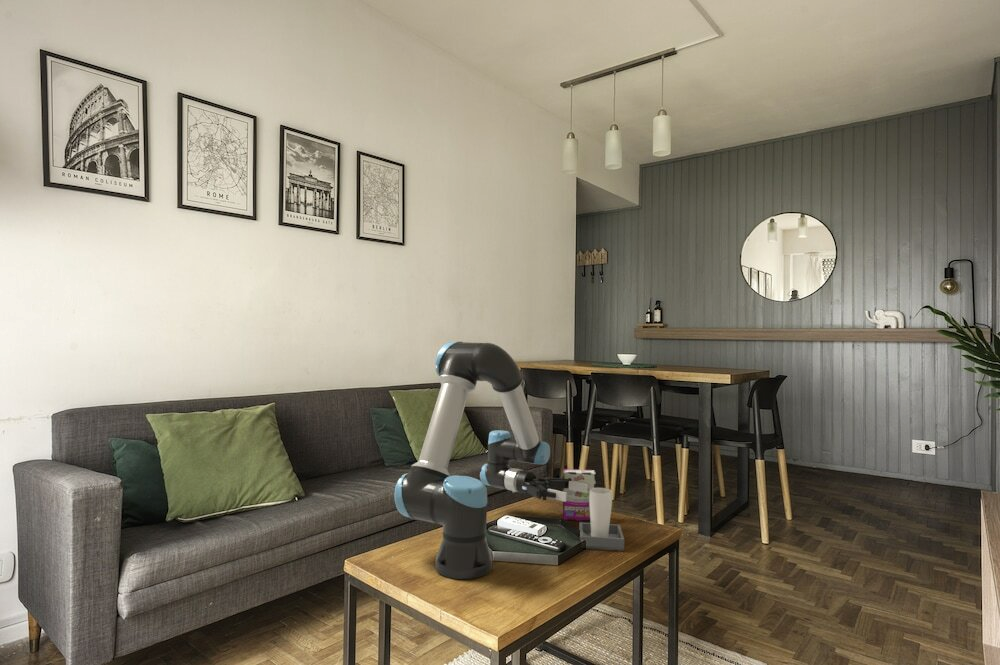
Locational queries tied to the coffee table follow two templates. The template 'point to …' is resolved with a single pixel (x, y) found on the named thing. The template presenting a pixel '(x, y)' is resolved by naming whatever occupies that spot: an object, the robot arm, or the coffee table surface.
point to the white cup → (600, 511)
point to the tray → (603, 538)
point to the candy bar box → (578, 495)
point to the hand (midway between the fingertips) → (577, 492)
